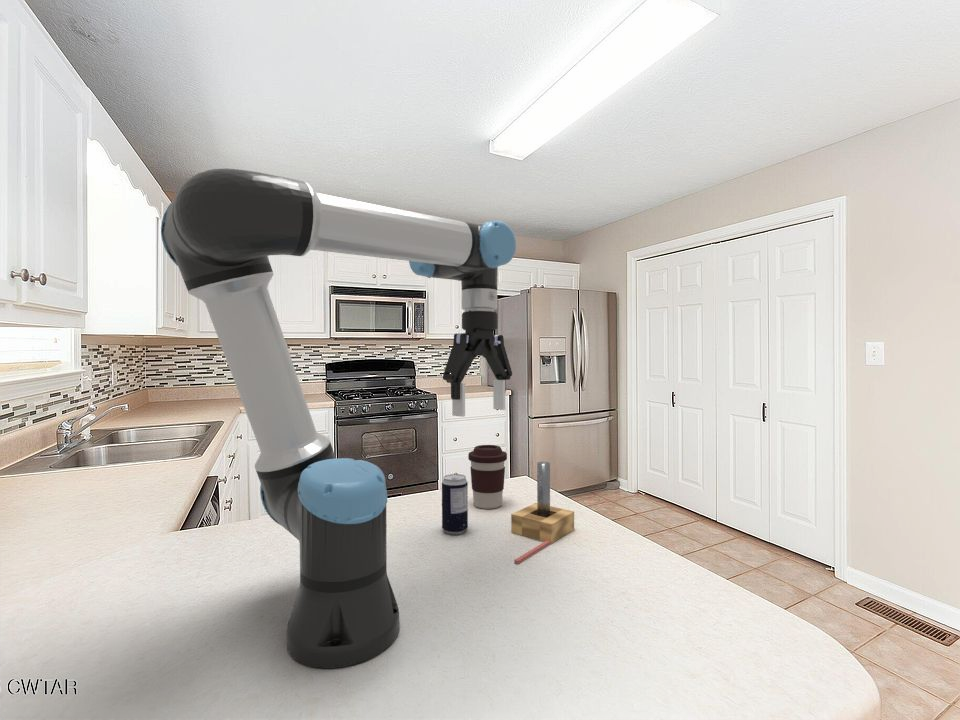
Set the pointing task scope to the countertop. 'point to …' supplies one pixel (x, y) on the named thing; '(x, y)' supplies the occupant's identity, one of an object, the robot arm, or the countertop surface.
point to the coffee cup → (487, 475)
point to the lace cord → (532, 552)
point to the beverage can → (454, 504)
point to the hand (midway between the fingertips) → (480, 412)
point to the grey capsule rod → (543, 489)
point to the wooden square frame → (542, 523)
